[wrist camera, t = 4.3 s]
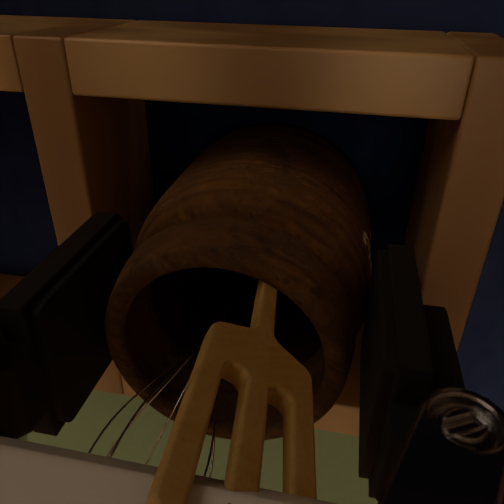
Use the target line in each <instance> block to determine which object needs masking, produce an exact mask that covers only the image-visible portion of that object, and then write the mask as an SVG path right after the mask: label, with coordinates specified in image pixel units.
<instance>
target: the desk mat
mask: <svg viewBox="0 0 504 504" xmlns="http://www.w3.org/2000/svg"><path fill="white" fill-rule="evenodd" d="M131 398H132V397H131V396H126V395H125V394H123V395H120V394H114V393H108V392H103V391H97V390H93V391H92V392H91V394H90V395H89V397H88V398H87V400H86V402H85V403H84V405H83V406H82V408H81V409H80V411H79V412H78V414H77V415H76V417H75V418H74V420H73V421H71V422H66V423H65V424H64V426H63V427H62V429H61V430H60V432H59V433H58V435H57V436H52V435H47V434H42V433H37V432H34V430H33V431H32V432H31V433H28V437H27V441H29V442H34V443H39V444H44V445H49V446H54V447H59V448H65V449H70V450H75V451H80V452H85V453H88V452H89V450H90V448H91V447H92V445H93V443H94V442H95V440H96V439H97V437H98V436H99V434H100V433H101V431H102V430H103V429H104V427H105V426H106V425H107V423H108V422H109V421H110V420H111V418H112V417H113V416H114V415H115V414H116V413H117V412H118V411H119V410H120V409H121V408H122V407H123V406H124V405H125V404H126V403H127V402H128V401H129V400H130V399H131ZM143 402H144V400H143V399H142V398H137V397H136V398H134V399H133V400H132V401H131V402H130V403H129V404H128V405H127V406H126V407H125V408H124V409H123V410H122V411H121V412H120V413H119V414H118V415H117V416H116V417H115V419H114V420H113V421H112V422H111V423H110V425H109V426H108V427H107V429H106V430H105V431H104V433H103V434H102V436H101V437H100V439H99V440H98V442H97V443H96V445H95V446H94V448H93V450H92V451H91V453H90V454H95V455H100V456H105V457H106V456H107V454H108V453H109V451H110V450H111V448H112V447H113V445H114V444H115V442H116V441H117V439H118V438H119V437H120V435H121V434H122V432H123V431H124V429H125V427H126V426H127V424H128V422H129V421H130V419H131V418H132V416H133V415H134V413H135V412H136V411H137V409H138V408H139V407H140V405H141V404H142V403H143ZM146 404H147V403H145V404H144V405H143V407H142V408H141V409H140V411H141V410H142V409H143V408H144V407H145V405H146ZM140 411H139V412H140ZM139 412H138V413H139ZM138 413H137V414H138ZM136 416H137V415H136ZM136 416H135V417H136ZM167 420H168V418H167V417H166V416H164V415H162V414H161V413H159V412H158V411H157V410H155V409H154V408H152V407H151V406H150V405H148V406H147V407H146V409H145V410H144V411H143V412H142V413H141V414H140V415H139V417H138V418H137V419H136V420H135V421H134V422H133V424H132V425H131V426H130V427H129V429H128V430H127V431H126V432H125V434H124V435H123V437H122V439H121V441H120V443H119V444H118V446H117V448H116V450H115V452H114V454H113V456H112V458H115V459H120V460H125V461H130V462H135V463H140V464H146V462H147V460H148V458H149V456H150V454H151V452H152V450H153V448H154V446H155V444H156V442H157V440H158V438H159V436H160V434H161V432H162V430H163V428H164V426H165V424H166V422H167ZM173 424H174V421H172V420H171V419H170V421H169V423H168V425H167V427H166V429H165V431H164V433H163V435H162V437H161V438H160V440H159V442H158V444H157V446H156V448H155V450H154V452H153V454H152V456H151V458H150V460H149V462H148V464H147V465H150V466H155V467H158V466H159V464H160V461H161V458H162V455H163V452H164V449H165V447H166V444H167V441H168V438H169V435H170V432H171V430H172V427H173ZM314 437H315V462H316V486H317V500H322V501H327V502H331V503H336V504H378V501H377V500H376V499H375V498H371V497H369V479H365V478H360V477H359V436H354V435H348V434H343V433H337V432H331V431H325V430H320V429H314ZM211 440H212V436H210V435H206V436H205V439H204V443H203V447H202V451H201V454H200V458H199V462H198V465H197V469H196V473H195V475H200V476H203V474H204V471H205V468H206V464H207V460H208V456H209V452H210V446H211ZM230 443H231V440H230V439H223V438H218V437H215V451H214V461H213V469H212V475H211V478H215V479H220V480H225V474H226V468H227V461H228V455H229V449H230ZM109 456H110V455H109ZM211 460H212V454H211V458H210V463H209V466H208V470H207V473H206V476H205V477H209V473H210V467H211ZM260 488H264V489H268V490H273V491H278V492H283V437H281V438H276V439H270V440H264V448H263V458H262V468H261V478H260Z"/></svg>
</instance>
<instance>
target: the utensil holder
mask: <svg viewBox="0 0 504 504" xmlns="http://www.w3.org/2000/svg"><path fill="white" fill-rule="evenodd" d="M371 271H372V251H371V221H370V212H369V205H368V201H367V197H366V194H365V191H364V188H363V185H362V183H361V180H360V178H359V176H358V175H357V173H356V171H355V170H354V168H353V167H352V165H351V164H350V163H349V161H348V160H347V159H346V158H345V157H344V156H343V155H342V153H341V152H339V151H338V150H337V149H336V148H335V147H334V146H332V145H331V144H330V143H328V142H327V141H325V140H324V139H322V138H320V137H319V136H317V135H315V134H313V133H310V132H308V131H305V130H303V129H299V128H296V127H292V126H286V125H278V124H265V125H256V126H250V127H246V128H243V129H240V130H237V131H234V132H232V133H230V134H228V135H226V136H224V137H222V138H220V139H219V140H217V141H216V142H214V143H213V144H212V145H210V146H209V147H208V148H207V149H205V150H204V151H203V152H202V153H201V154H200V155H199V156H198V157H197V158H196V159H195V160H194V161H193V162H192V163H191V164H190V165H189V166H188V167H187V168H186V170H185V171H184V172H183V173H182V174H181V175H180V176H179V177H178V178H177V180H176V181H175V182H174V183H173V184H172V185H171V186H170V187H169V189H168V190H167V191H166V192H165V193H164V194H163V196H162V197H161V198H160V199H159V201H158V202H157V204H156V205H155V206H154V208H153V209H152V210H151V212H150V214H149V215H148V217H147V219H146V220H145V222H144V224H143V226H142V228H141V230H140V233H139V235H138V238H137V241H136V244H135V248H134V252H133V254H132V255H131V256H130V258H129V259H128V260H127V262H126V263H125V265H124V267H123V268H122V270H121V272H120V274H119V277H118V279H117V281H116V283H115V285H114V288H113V290H112V293H111V295H110V298H109V301H108V304H107V308H106V314H105V334H106V340H107V344H108V348H109V351H110V354H111V356H112V359H113V361H114V363H115V365H116V367H117V369H118V370H119V372H120V373H121V375H122V377H123V378H124V379H125V381H126V382H127V383H128V385H129V386H130V387H131V388H132V389H133V390H134V391H135V392H136V393H137V394H136V395H135V396H133V397H132V398H131V399H130V400H129V401H128V402H127V403H126V404H125V405H124V406H123V407H122V408H121V409H120V410H119V411H118V412H117V413H116V414H115V415H114V416H113V417H112V418H111V420H110V421H109V422H108V423H107V425H106V426H105V427H104V429H103V430H102V431H101V433H100V434H99V436H98V437H97V439H96V440H95V442H94V443H93V445H92V447H91V448H90V450H89V452H88V453H91V451H92V450H93V448H94V446H95V445H96V443H97V442H98V440H99V439H100V437H101V436H102V434H103V433H104V431H105V430H106V429H107V427H108V426H109V425H110V423H111V422H112V421H113V420H114V419H115V417H116V416H117V415H118V414H119V413H120V412H121V411H122V410H123V409H124V408H125V407H126V406H127V405H128V404H129V403H130V402H131V401H132V400H133V399H134V398H136V397H137V396H138V395H139V396H140V397H141V398H142V399H143V400H144V402H143V403H142V404H141V405H140V407H139V408H138V409H137V411H136V412H135V413H134V415H133V416H132V418H131V419H130V421H129V422H128V424H127V426H126V427H125V429H124V431H123V432H122V434H121V435H120V437H119V438H118V439H117V441H116V442H115V444H114V445H113V447H112V448H111V450H110V451H109V453H108V454H107V456H106V457H110V458H112V456H113V454H114V452H115V450H116V448H117V446H118V444H119V443H120V441H121V439H122V437H123V435H124V434H125V432H126V431H127V430H128V429H129V427H130V426H131V425H132V424H133V422H134V421H135V420H136V419H137V418H138V417H139V415H140V414H141V413H142V412H143V411H144V410H145V409H146V407H147V406H148V405H150V406H151V407H152V408H154V409H155V410H157V411H158V412H159V413H161V414H162V415H164V416H166V417H167V418H168V420H167V422H166V424H165V426H164V428H163V430H162V432H161V434H160V436H159V438H158V440H157V442H156V444H155V446H154V448H153V450H152V452H151V454H150V456H149V458H148V460H147V462H146V464H145V465H147V464H148V462H149V460H150V458H151V456H152V454H153V452H154V450H155V448H156V446H157V444H158V442H159V440H160V438H161V437H162V435H163V433H164V431H165V429H166V427H167V425H168V423H169V421H170V419H171V420H172V421H174V424H173V427H172V430H171V432H170V435H169V438H168V441H167V444H166V447H165V449H164V452H163V455H162V458H161V461H160V464H159V466H158V469H157V472H156V475H155V478H154V481H153V483H152V486H151V489H150V492H149V495H148V497H147V501H146V504H187V503H188V499H189V495H190V491H191V488H192V484H193V480H194V477H195V473H196V469H197V465H198V462H199V458H200V454H201V451H202V447H203V443H204V439H205V436H206V435H210V436H212V440H211V446H210V452H209V456H208V460H207V464H206V468H205V471H204V474H203V476H206V473H207V470H208V466H209V463H210V458H211V454H212V460H211V467H210V473H209V477H210V478H211V475H212V469H213V461H214V451H215V437H218V438H223V439H230V440H231V443H230V449H229V455H228V461H227V468H226V474H225V480H224V486H225V487H226V488H227V489H228V490H230V491H237V492H259V488H260V478H261V468H262V458H263V448H264V440H270V439H276V438H281V437H283V493H288V494H291V495H295V496H303V497H308V498H313V499H317V486H316V462H315V437H314V423H315V422H317V421H318V420H320V419H321V418H322V417H323V416H324V415H325V414H326V413H327V412H328V411H329V410H330V409H331V408H332V407H333V405H334V404H335V403H336V401H337V400H338V398H339V396H340V394H341V392H342V390H343V388H344V385H345V383H346V380H347V377H348V374H349V371H350V367H351V364H352V360H353V356H354V351H355V342H356V335H357V334H358V332H359V330H360V328H361V325H362V322H363V320H364V317H365V314H366V310H367V307H368V301H369V295H370V288H371ZM145 403H147V404H146V405H145V407H144V408H143V409H142V410H141V411H140V409H141V408H142V407H143V405H144V404H145ZM139 411H140V412H139ZM138 412H139V413H138ZM137 413H138V414H137ZM136 415H137V416H136ZM135 416H136V417H135ZM109 455H110V456H109ZM228 504H231V503H230V502H229V503H228Z"/></svg>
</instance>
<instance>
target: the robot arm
mask: <svg viewBox="0 0 504 504" xmlns="http://www.w3.org/2000/svg"><path fill="white" fill-rule="evenodd" d="M132 254H133V249H132V242H131V234H130V227H129V224H128V222H127V221H123V218H122V216H121V215H119V214H110V213H101V212H96V213H95V214H94V215H92V216H91V217H90V218H89V219H88V220H87V221H86V222H85V223H84V224H82V225H81V226H80V227H79V228H78V229H77V230H76V231H75V232H74V233H73V234H71V235H70V236H69V237H68V238H67V239H66V240H65V241H64V242H63V243H61V244H60V245H59V246H58V247H57V248H56V249H55V250H54V251H53V252H52V253H50V254H49V255H48V256H47V257H46V258H45V259H44V260H43V261H42V262H41V263H39V264H38V265H37V266H36V267H35V268H34V269H33V270H32V271H31V272H29V273H28V274H27V275H26V276H25V277H24V278H23V279H22V280H21V281H20V282H18V283H17V284H16V285H15V286H14V287H13V288H12V289H11V290H10V291H9V292H7V293H6V294H5V295H4V296H3V297H2V298H1V299H0V504H146V501H147V497H148V495H149V492H150V489H151V486H152V483H153V481H154V478H155V475H156V472H157V469H158V467H155V466H150V465H145V464H140V463H135V462H130V461H125V460H120V459H115V458H110V457H105V456H100V455H95V454H90V453H85V452H80V451H75V450H70V449H65V448H59V447H54V446H49V445H44V444H39V443H34V442H29V441H27V437H28V433H31V432H32V431H33V430H34V432H37V433H42V434H47V435H52V436H57V435H58V433H59V432H60V430H61V429H62V427H63V426H64V424H65V423H66V422H71V421H73V420H74V418H75V417H76V415H77V414H78V412H79V411H80V409H81V408H82V406H83V405H84V403H85V402H86V400H87V398H88V397H89V395H90V394H91V392H92V391H93V389H94V388H95V386H96V385H97V383H98V381H99V380H100V378H101V377H102V375H103V374H104V372H105V371H106V369H107V368H108V366H109V364H110V363H111V361H112V360H113V359H112V356H111V354H110V351H109V348H108V344H107V340H106V334H105V314H106V308H107V304H108V301H109V298H110V295H111V293H112V290H113V288H114V285H115V283H116V281H117V279H118V277H119V274H120V272H121V270H122V268H123V267H124V265H125V263H126V262H127V260H128V259H129V258H130V256H131V255H132ZM359 477H360V478H365V479H369V497H371V498H375V499H376V500H377V501H378V504H504V412H503V411H502V410H501V409H500V408H499V407H498V406H497V405H495V404H494V403H493V402H491V401H490V400H489V399H487V398H485V397H483V396H481V395H479V394H477V393H475V392H472V391H468V390H465V386H464V382H463V378H462V373H461V369H460V365H459V360H458V356H457V352H456V348H455V343H454V339H453V335H452V330H451V326H450V322H449V318H448V313H447V310H446V308H444V307H440V306H432V305H424V304H423V300H422V294H421V288H420V282H419V276H418V270H417V264H416V258H415V252H414V247H413V246H405V245H396V244H388V245H387V248H386V250H384V249H378V250H377V254H376V260H375V266H374V271H373V277H372V283H371V289H370V295H369V301H368V307H367V312H366V318H365V324H364V330H363V336H362V342H361V354H360V411H359ZM229 502H230V503H231V504H336V503H331V502H327V501H322V500H317V499H313V498H308V497H303V496H295V495H291V494H288V493H283V492H278V491H273V490H268V489H264V488H259V492H237V491H230V490H228V489H227V488H226V487H225V486H224V480H220V479H215V478H210V477H205V476H200V475H195V477H194V480H193V484H192V488H191V491H190V495H189V499H188V503H187V504H228V503H229Z"/></svg>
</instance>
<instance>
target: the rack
mask: <svg viewBox="0 0 504 504" xmlns="http://www.w3.org/2000/svg"><path fill="white" fill-rule="evenodd" d="M0 91H11V92H24V93H25V98H26V102H27V107H28V111H29V116H30V120H31V125H32V129H33V134H34V138H35V143H36V147H37V152H38V156H39V161H40V166H41V170H42V175H43V179H44V184H45V188H46V193H47V197H48V202H49V206H50V211H51V215H52V220H53V224H54V229H55V233H56V238H57V243H58V246H59V245H60V244H61V243H63V242H64V241H65V240H66V239H67V238H68V237H69V236H70V235H71V234H73V233H74V232H75V231H76V230H77V229H78V228H79V227H80V226H81V225H82V224H84V223H85V222H86V221H87V220H88V219H89V218H90V217H91V216H92V215H94V214H95V213H96V212H101V213H110V214H119V215H121V216H122V218H123V221H127V222H128V224H129V227H130V234H131V242H132V249H133V252H134V248H135V244H136V241H137V238H138V235H139V233H140V230H141V228H142V226H143V224H144V222H145V220H146V219H147V217H148V215H149V214H150V212H151V210H152V209H153V208H154V206H155V199H154V189H153V179H152V169H151V158H150V148H149V138H148V127H147V117H146V107H145V100H153V101H168V102H183V103H199V104H214V105H229V106H244V107H259V108H274V109H290V110H305V111H320V112H335V113H350V114H366V115H381V116H396V117H411V118H426V119H429V121H428V126H427V131H426V136H425V141H424V146H423V151H422V156H421V161H420V166H419V171H418V176H417V180H416V185H415V190H414V195H413V200H412V205H411V210H410V215H409V220H408V225H407V230H406V235H405V240H404V245H405V246H413V247H414V252H415V258H416V264H417V270H418V276H419V282H420V288H421V294H422V300H423V304H424V305H432V306H440V307H444V308H446V310H447V313H448V318H449V322H450V326H451V330H452V335H453V339H454V343H455V348H456V352H457V350H458V347H459V343H460V340H461V337H462V334H463V330H464V327H465V324H466V321H467V317H468V314H469V311H470V308H471V304H472V301H473V298H474V294H475V291H476V288H477V285H478V281H479V278H480V275H481V272H482V268H483V265H484V262H485V259H486V255H487V252H488V249H489V246H490V242H491V239H492V236H493V232H494V229H495V226H496V223H497V219H498V216H499V213H500V210H501V206H502V203H503V200H504V38H502V37H500V36H498V35H496V34H494V33H474V32H448V33H445V32H443V31H421V30H394V29H367V28H340V27H312V26H285V25H258V24H231V23H204V22H176V21H149V20H138V21H135V20H122V19H96V18H71V17H44V16H16V15H0ZM24 277H25V276H18V275H11V274H3V273H0V299H1V298H2V297H3V296H4V295H5V294H6V293H7V292H9V291H10V290H11V289H12V288H13V287H14V286H15V285H16V284H17V283H18V282H20V281H21V280H22V279H23V278H24ZM364 324H365V323H363V322H362V325H361V328H360V330H359V332H358V334H357V335H356V342H355V351H354V356H353V360H352V364H351V367H350V371H349V374H348V377H347V380H346V383H345V385H344V388H343V390H342V392H341V394H340V396H339V398H338V400H337V401H336V403H335V404H334V405H333V407H332V408H331V409H330V410H329V411H328V412H327V413H326V414H325V415H324V416H323V417H322V418H321V419H320V420H318V421H317V422H315V423H314V429H320V430H325V431H331V432H337V433H343V434H348V435H354V436H359V411H360V354H361V342H362V336H363V330H364ZM93 390H97V391H103V392H108V393H114V394H120V395H123V394H125V395H126V396H131V397H133V396H135V395H136V394H137V393H136V392H135V391H134V390H133V389H132V388H131V387H130V386H129V385H128V383H127V382H126V381H125V379H124V378H123V377H122V375H121V373H120V372H119V370H118V369H117V367H116V365H115V363H114V361H113V360H112V361H111V363H110V364H109V366H108V368H107V369H106V371H105V372H104V374H103V375H102V377H101V378H100V380H99V381H98V383H97V385H96V386H95V388H94V389H93ZM137 398H141V397H140V396H139V395H138V396H137Z"/></svg>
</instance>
